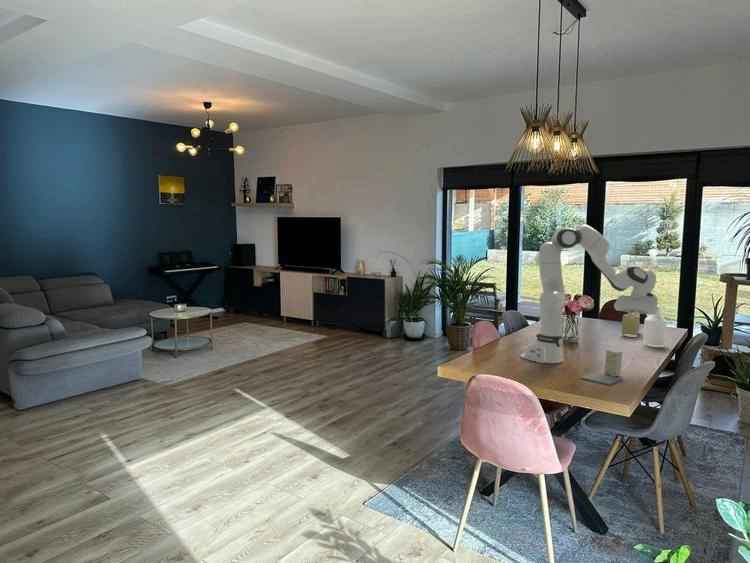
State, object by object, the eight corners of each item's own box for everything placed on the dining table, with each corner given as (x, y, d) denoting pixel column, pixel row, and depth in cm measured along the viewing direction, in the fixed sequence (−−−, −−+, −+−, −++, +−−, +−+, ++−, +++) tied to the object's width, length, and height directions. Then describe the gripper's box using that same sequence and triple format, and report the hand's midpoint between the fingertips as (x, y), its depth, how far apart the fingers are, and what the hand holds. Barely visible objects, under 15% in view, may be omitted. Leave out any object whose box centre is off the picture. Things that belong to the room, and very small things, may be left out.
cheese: (629, 331, 379) (631, 310, 377) (644, 333, 373) (646, 312, 371) (621, 336, 362) (622, 314, 360) (636, 338, 356) (638, 316, 354)
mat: (580, 378, 257) (580, 377, 257) (593, 373, 266) (594, 372, 266) (609, 385, 246) (609, 383, 246) (622, 380, 256) (622, 378, 256)
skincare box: (604, 373, 266) (605, 349, 265) (610, 373, 268) (612, 349, 267) (614, 377, 261) (616, 352, 259) (621, 376, 262) (622, 351, 261)
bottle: (659, 344, 339) (662, 304, 336) (667, 348, 327) (670, 307, 324) (639, 343, 340) (642, 304, 337) (647, 347, 328) (650, 306, 325)
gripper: (617, 291, 285) (608, 311, 279) (659, 295, 270) (650, 316, 264) (620, 298, 288) (611, 318, 282) (661, 303, 273) (653, 324, 268)
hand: (630, 317), depth 273 cm, fingers closed
